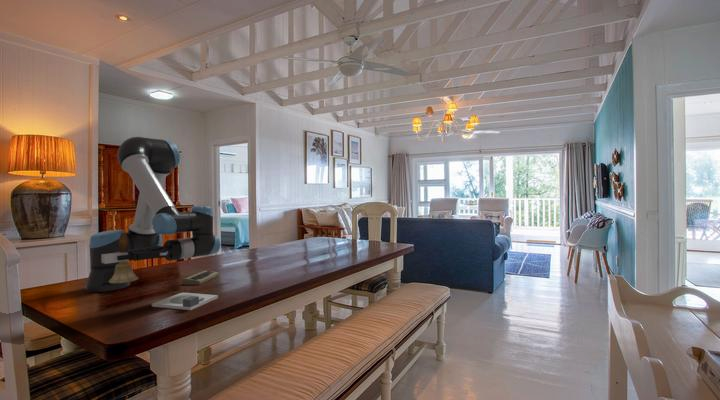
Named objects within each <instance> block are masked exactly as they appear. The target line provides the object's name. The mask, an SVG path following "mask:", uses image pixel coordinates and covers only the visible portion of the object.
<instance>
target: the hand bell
mask: <svg viewBox="0 0 720 400" xmlns="http://www.w3.org/2000/svg"><path fill="white" fill-rule="evenodd" d="M127 247H128V238H127V235H126V233H125V232H124V233H121V236H120V238H119V248H120V250H121V253H126V250H127ZM137 280H139V276H138V275H136V274H135V273H134V271H133V266H132V263H131V262H128V261H122V262H120V263H119V264H117V265H116V266H115V272H114V275H113V277H112V278H111V279H110V280H109V283H126V282H130V283H131V282H135V281H137Z"/></svg>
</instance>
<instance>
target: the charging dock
mask: <svg viewBox="0 0 720 400" xmlns="http://www.w3.org/2000/svg"><path fill="white" fill-rule="evenodd" d="M218 298H219V295H217V294H206V293H205V294H204V293H193V292H180V293H177V294H175V295H172V296H169V297H166V298H163V299H161V300H158V301H155V302H153V303H151V307H153V308H162V309H175V310H184V311H185V310H186V311H193V310H194V309H196V308H199V307H202V306H203V305H206V304H208V303H211V302H212V301H214V300H217V299H218Z"/></svg>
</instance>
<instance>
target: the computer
mask: <svg viewBox="0 0 720 400" xmlns="http://www.w3.org/2000/svg"><path fill="white" fill-rule="evenodd" d="M219 275H220V274H219V272H218V271H213V270H212V271H211V270H203V271H200V272H197V273H195V274H192V275H190V276H189V275H188V276H187V277H185V278H182V285H185V286H188V285H190V286H191V285H193V286H199V285H202V284H204V283H207V282H208V281H211V280H213V279H215V278H218V277H219Z"/></svg>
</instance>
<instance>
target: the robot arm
mask: <svg viewBox="0 0 720 400" xmlns="http://www.w3.org/2000/svg"><path fill="white" fill-rule="evenodd" d="M180 161H181V154H180V150H179V148H178V146H177V145H176V144H175V143H174V142H173V141H170V140H166V139H159V138H152V137H151V138H150V137H142V136H133V137H129V138H127V139H125V140H124V141H122V143H121V144H120V146H119V148H118V149H117V162H118V164H119V166H120V167H121V169H122V170H123V172H125V173H127V174H128V175H129V176H130V178H131V179H132V181H133V184H135V186H136V188H137V189H138V191H139V193H138V200H137V203H136V209H135V215H134V220H133V223H132V224H130V225H129V226H128V229H127V232H125V231H124V230H123V229H112V230H105V231H101V232H97V233H94V234H93V235H91V236H90V238H89V246H88V247H89V259H90V260H89V263H90V270H89V275H88V278H87V281H86V283H85V292H87V293H88V292H90V293H102V292H111V291H116V290H121V289H124V288H128V287H129V286H130V285H131V282H126V283H109V280H110V279H111V278H112V277H113V275H114V272H115V266H116V265H117V264H119V263H120V262H122V261H127V262H128V261H131V262H136V261H142V260H143V261H144V260H152V259H163V258H164V259H165V260H167V261H169V262H170V261H176V260H182V259H183V260H184V261H185V260H188V259H189V258H196V257H202V256H210V255H215V254H217V253H218V252H219V251H220V249H221V244H222V243H221V240H220V238H219V236H218V235H216V234H214V213H213V207H211V206H209V205H200V206H199V205H198V206H192V207H191V211H183V212H182V211H181V212H179V210H178V209H177V207H176V206H175V204H174V203H173V200H172V199H171V198H170V196H169V194H168V193H167V191H166V190H165V184H166V183H165V182H166V178H167V176H169V175H170V174H171V173H172V170H173V169H174V168H177V167H178V166H179V164H180ZM189 232H190V233H191V235H192V236H191V237H184V238H177V239H176V238H175V239H168V240H166V241H164V243H163V238H162V237H163V236H162V235H164V236H165V235H174V234H181V233H182V234H183V233H189ZM121 233H126V235H127V238H128V247H127V250H126V253H121V250H120V248H119V238H120V236H121Z"/></svg>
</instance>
